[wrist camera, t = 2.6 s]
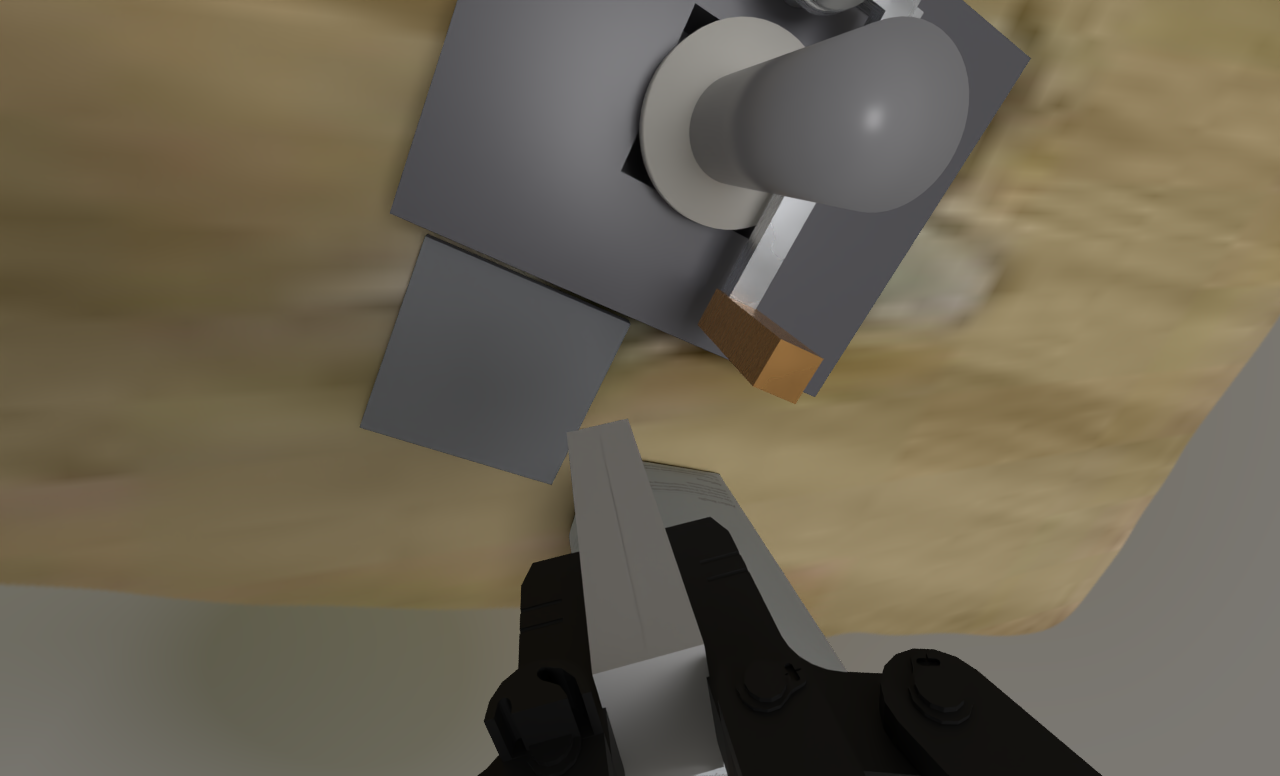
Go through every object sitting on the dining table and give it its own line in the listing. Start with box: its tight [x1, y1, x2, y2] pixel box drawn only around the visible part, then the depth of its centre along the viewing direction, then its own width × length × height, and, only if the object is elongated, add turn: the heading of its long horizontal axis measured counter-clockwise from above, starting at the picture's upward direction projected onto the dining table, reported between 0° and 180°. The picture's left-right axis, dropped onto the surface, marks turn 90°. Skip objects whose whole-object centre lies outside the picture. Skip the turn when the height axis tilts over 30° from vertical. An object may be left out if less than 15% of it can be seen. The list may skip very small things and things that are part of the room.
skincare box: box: [569, 461, 847, 776], centre depth 25 cm, size 8×6×15 cm
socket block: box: [390, 0, 1031, 397], centre depth 21 cm, size 20×16×6 cm
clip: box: [698, 0, 924, 404], centre depth 16 cm, size 5×14×6 cm, turn 153°
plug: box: [639, 16, 969, 230], centre depth 17 cm, size 7×7×14 cm
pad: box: [360, 234, 630, 485], centre depth 27 cm, size 10×10×1 cm
